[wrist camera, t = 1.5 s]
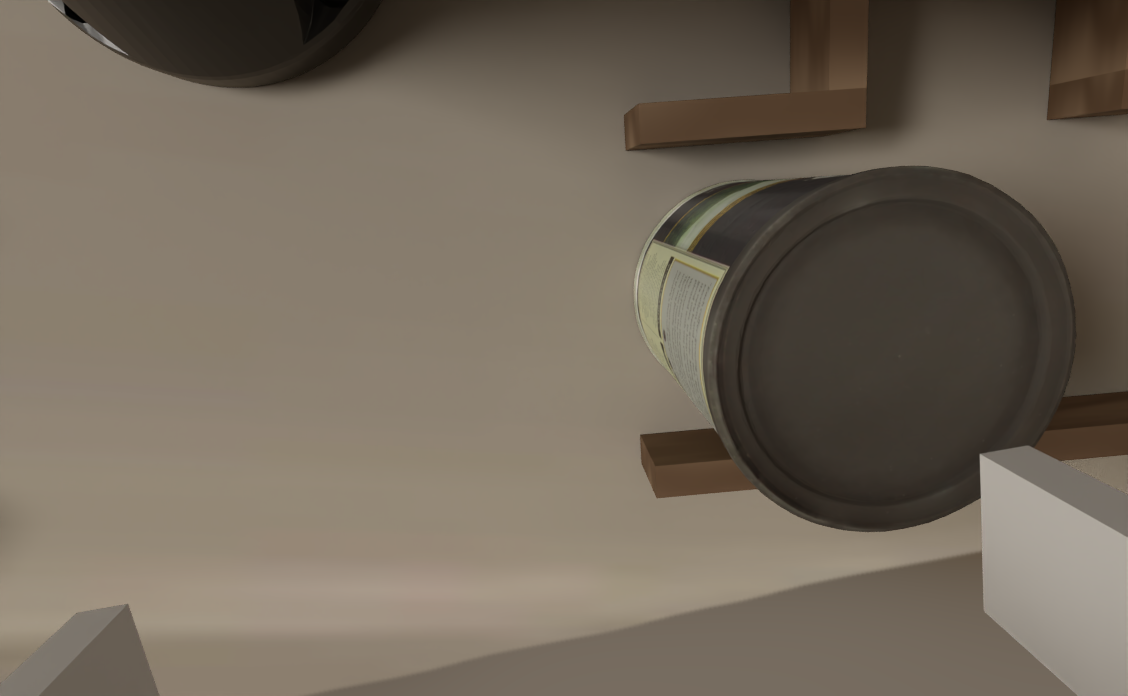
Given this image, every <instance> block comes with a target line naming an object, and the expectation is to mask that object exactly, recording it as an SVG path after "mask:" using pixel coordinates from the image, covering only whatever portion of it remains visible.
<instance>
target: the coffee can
mask: <svg viewBox="0 0 1128 696" xmlns="http://www.w3.org/2000/svg"><path fill="white" fill-rule="evenodd" d="M634 308H635V314H636V319H637V323H638V326H639V329H640V332H641V334H642V336H643V338H644V340H645V342H646V344H647V346H648V348H649V349H650V351H651V352H652V354H653V355H654V356H655V357H656V359H657V360H658V361H659V362H660V364H661V365H663V366H664V367H665V368H666V369H667V370H668V371H669V372H670V374H671V375H672V376H673V377H674V379H675V380H676V381H677V382H678V384H679V385H680V386H681V387H682V389H683V390H684V391H685V393H686V394H687V395H688V397H689V398H690V399H691V400H692V401H693V403H694V404H695V405H696V407H697V408H698V409H699V410H700V412H701V413H702V414H703V415H704V417H705V418H706V419H707V420H708V422H709V423H710V424H711V426H712V427H713V428H714V429H715V431H716V432H717V433H718V435H719V436H720V438H721V440H722V442H723V444H724V446H725V448H726V450H727V451H728V453H729V455H730V457H731V458H732V460H733V461H734V463H735V464H736V465H737V467H738V468H739V469H740V470H741V472H742V473H743V474H744V476H745V477H746V478H747V479H748V480H749V481H750V482H751V483H752V484H753V485H754V486H755V487H756V488H757V489H758V490H759V491H760V492H761V493H763V494H764V495H765V496H766V497H767V498H769V499H770V500H772V501H773V502H775V503H776V504H777V505H779V506H780V507H782V508H784V509H785V510H787V511H789V512H790V513H792V514H794V515H796V516H798V517H800V518H803V519H805V520H808V521H810V522H813V523H816V524H819V525H823V526H827V527H831V528H836V529H841V530H848V531H859V532H885V531H892V530H898V529H904V528H909V527H913V526H917V525H921V524H925V523H929V522H931V521H934V520H937V519H939V518H942V517H945V516H947V515H949V514H951V513H953V512H955V511H957V510H960V509H962V508H963V507H965V506H967V505H969V504H971V503H973V502H974V501H976V500H978V499H979V498H981V483H980V454H982V453H988V452H994V451H999V450H1005V449H1011V448H1016V447H1022V446H1030V447H1032V448H1034V447H1035V446H1036V444H1037V443H1038V441H1039V440H1040V439H1041V437H1042V435H1043V434H1044V432H1045V430H1046V429H1047V427H1048V425H1049V424H1050V422H1051V420H1052V418H1053V416H1054V414H1055V412H1056V411H1057V408H1058V406H1059V404H1060V402H1061V399H1062V397H1063V394H1064V392H1065V389H1066V386H1067V383H1068V381H1069V378H1070V373H1071V368H1072V364H1073V359H1074V353H1075V339H1076V330H1075V308H1074V300H1073V296H1072V292H1071V287H1070V283H1069V279H1068V276H1067V273H1066V269H1065V266H1064V264H1063V262H1062V259H1061V257H1060V254H1059V252H1058V250H1057V248H1056V246H1055V244H1054V243H1053V241H1052V240H1051V238H1050V237H1049V235H1048V234H1047V232H1046V231H1045V229H1044V228H1043V227H1042V226H1041V224H1040V223H1039V222H1038V221H1037V220H1036V219H1035V217H1034V216H1033V215H1032V214H1031V213H1030V212H1029V211H1027V210H1026V209H1025V208H1024V207H1023V206H1022V205H1021V204H1020V203H1018V202H1017V201H1015V200H1014V199H1012V198H1011V197H1010V196H1008V195H1007V194H1005V193H1004V192H1002V191H1001V190H999V189H997V188H996V187H994V186H993V185H991V184H989V183H986V182H984V181H982V180H980V179H977V178H975V177H973V176H971V175H969V174H965V173H961V172H957V171H953V170H948V169H942V168H936V167H929V166H899V167H888V168H879V169H872V170H868V171H864V172H860V173H856V174H852V175H838V176H821V177H811V178H795V179H780V180H763V181H757V180H735V181H728V182H723V183H718V184H715V185H712V186H709V187H707V188H704V189H702V190H700V191H698V192H696V193H694V194H692V195H690V196H689V197H687V198H685V199H684V200H683V201H681V202H680V203H679V204H678V205H676V206H675V207H674V208H673V209H672V210H670V211H669V212H668V213H667V214H666V215H665V217H664V218H663V219H662V220H661V221H660V222H659V224H658V225H657V226H656V228H655V229H654V230H653V232H652V233H651V235H650V237H649V238H648V240H647V242H646V244H645V246H644V248H643V250H642V253H641V255H640V258H639V262H638V265H637V269H636V274H635V281H634Z"/></svg>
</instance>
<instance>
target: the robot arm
mask: <svg viewBox="0 0 1128 696" xmlns="http://www.w3.org/2000/svg"><path fill="white" fill-rule="evenodd" d="M48 1H49V2H50V3H51V4H52V5H53V6H54V7H55V8H56V9H57V10H58V11H59V12H60V13H61V14H62V15H63V16H64V17H66V18H67V19H68V20H69V21H70V22H71V23H73V24H74V25H75V26H76V27H78V28H79V29H80V30H81V31H83V32H84V33H85V34H87V35H88V36H90V37H91V38H93V39H94V40H96V41H97V42H99V43H100V44H102V45H103V46H105V47H107V48H108V49H110V50H112V51H113V52H115V53H117V54H119V55H121V56H123V57H125V58H127V59H129V60H131V61H133V62H135V63H138V64H140V65H142V66H145V67H148V68H151V69H153V70H156V71H159V72H162V73H165V74H168V75H171V76H174V77H177V78H180V79H183V80H187V81H190V82H194V83H199V84H204V85H211V86H219V87H252V86H261V85H266V84H272V83H276V82H280V81H283V80H287V79H290V78H293V77H295V76H298V75H300V74H303V73H305V72H307V71H309V70H311V69H313V68H315V67H317V66H318V65H320V64H322V63H324V62H325V61H327V60H328V59H330V58H331V57H332V56H334V55H335V54H336V53H338V52H339V51H340V50H341V49H343V48H344V47H345V46H346V45H347V44H348V43H349V42H350V41H351V40H352V39H353V38H354V37H355V36H356V35H357V34H358V33H359V32H360V31H361V30H362V28H363V27H364V26H365V25H366V23H367V22H368V21H369V19H370V18H371V17H372V15H373V14H374V12H375V10H376V9H377V7H378V6H379V4H380V2H381V0H48ZM980 483H981V522H982V560H983V598H984V612H986V613H987V614H988V615H989V616H990V617H991V618H992V619H993V620H994V621H996V622H997V623H998V624H999V625H1000V626H1001V627H1002V628H1003V629H1004V630H1006V631H1007V632H1008V633H1009V634H1010V635H1011V636H1012V637H1013V638H1014V639H1015V640H1017V641H1018V642H1019V643H1020V644H1021V645H1022V646H1023V647H1024V648H1026V649H1027V650H1028V651H1029V652H1030V653H1031V654H1032V655H1033V656H1035V658H1037V659H1038V660H1039V661H1040V662H1041V663H1042V664H1043V665H1044V666H1045V667H1047V668H1048V669H1049V670H1050V671H1051V672H1052V673H1053V674H1054V675H1055V676H1057V677H1058V678H1059V679H1060V680H1061V681H1062V682H1063V683H1064V684H1065V685H1067V686H1068V687H1069V688H1070V689H1071V690H1072V691H1073V692H1074V693H1075V694H1076V695H1078V696H1128V494H1126V493H1124V492H1122V491H1119V490H1117V489H1115V488H1113V487H1111V486H1109V485H1107V484H1105V483H1103V482H1101V481H1099V480H1097V479H1095V478H1093V477H1091V476H1089V475H1087V474H1085V473H1083V472H1081V471H1079V470H1077V469H1075V468H1073V467H1071V466H1069V465H1067V464H1065V463H1063V462H1061V461H1059V460H1057V459H1055V458H1053V457H1051V456H1049V455H1047V454H1045V453H1043V452H1040V451H1038V450H1036V449H1034V448H1032V447H1030V446H1022V447H1016V448H1011V449H1005V450H999V451H994V452H988V453H982V454H980ZM0 696H159V693H158V690H157V687H156V684H155V681H154V678H153V675H152V672H151V670H150V667H149V664H148V661H147V658H146V655H145V652H144V649H143V646H142V643H141V640H140V638H139V635H138V632H137V629H136V626H135V623H134V620H133V617H132V614H131V611H130V608H129V606H128V604H124V605H119V606H113V607H107V608H102V609H96V610H90V611H85V612H79V613H76V614H75V615H74V616H73V617H72V618H71V619H70V620H69V621H68V622H66V623H65V624H64V625H63V626H62V627H61V628H60V629H59V630H58V631H57V632H56V633H55V634H54V635H53V636H51V637H50V638H49V639H48V640H47V641H46V642H45V643H44V644H43V645H42V646H41V647H40V648H39V649H37V650H36V651H35V652H34V653H33V654H32V655H31V656H30V657H29V658H28V659H27V660H26V661H25V662H23V663H22V664H21V665H20V666H19V667H18V668H17V669H16V670H15V671H14V672H13V673H12V674H11V675H9V676H8V677H7V678H6V679H5V680H4V681H3V682H2V683H1V684H0Z"/></svg>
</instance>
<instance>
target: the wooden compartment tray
mask: <svg viewBox="0 0 1128 696" xmlns="http://www.w3.org/2000/svg"><path fill="white" fill-rule="evenodd" d="M868 14H869V0H790V93H783V94H769V95H754V96H740V97H726V98H711V99H697V100H683V101H668V102H654V103H640V104H638V105H636V106H635V107H634V108H633V109H631V110H630V111H629V112H628V113H626V114H625V115H624V126H625V145H626V150H640V149H653V148H667V147H681V146H695V145H709V144H722V143H736V142H750V141H764V140H777V139H791V138H805V137H819V136H826V135H831V134H836V133H841V132H846V131H851V130H856V129H861V128H866V97H867V56H868ZM1121 114H1128V0H1057V2H1056V14H1055V27H1054V39H1053V51H1052V64H1051V76H1050V89H1049V101H1048V114H1047V120H1053V119H1067V118H1081V117H1094V116H1108V115H1121ZM640 441H641V460H642V465H643V468H644V470H645V472H646V475H647V477H648V479H649V481H650V484H651V486H652V488H653V491H654V493H655V495H656V497H657V498H665V497H675V496H686V495H697V494H708V493H719V492H729V491H740V490H751V489H757V488H756V487H755V486H754V485H753V484H752V483H751V482H750V481H749V480H748V479H747V478H746V477H745V476H744V474H743V473H742V472H741V470H740V469H739V468H738V467H737V465H736V464H735V463H734V461H733V460H732V458H731V457H730V455H729V453H728V451H727V450H726V448H725V446H724V444H723V442H722V440H721V438H720V436H719V435H718V433H717V432H716V431H715V429H714V428H712V429H701V430H690V431H679V432H667V433H656V434H645V435H640ZM1034 449H1036V450H1038V451H1040V452H1043V453H1045V454H1047V455H1049V456H1051V457H1053V458H1055V459H1057V460H1059V461H1064V460H1074V459H1085V458H1096V457H1107V456H1117V455H1128V392H1117V393H1105V394H1094V395H1083V396H1072V397H1062V399H1061V402H1060V404H1059V406H1058V408H1057V411H1056V412H1055V414H1054V416H1053V418H1052V420H1051V422H1050V424H1049V425H1048V427H1047V429H1046V430H1045V432H1044V434H1043V435H1042V437H1041V439H1040V440H1039V441H1038V443H1037V444H1036V446H1035V447H1034Z"/></svg>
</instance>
